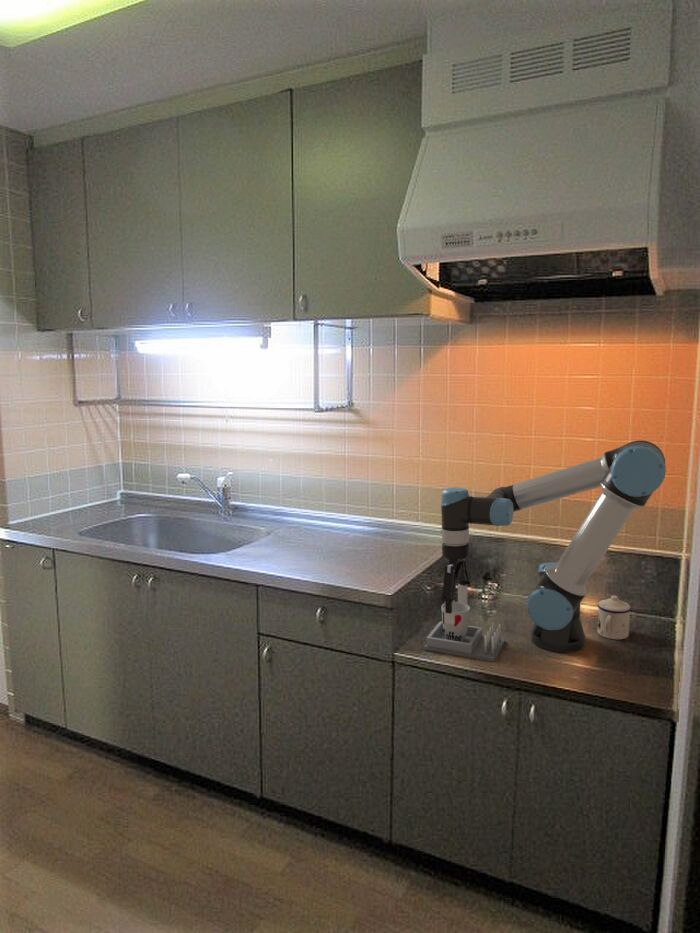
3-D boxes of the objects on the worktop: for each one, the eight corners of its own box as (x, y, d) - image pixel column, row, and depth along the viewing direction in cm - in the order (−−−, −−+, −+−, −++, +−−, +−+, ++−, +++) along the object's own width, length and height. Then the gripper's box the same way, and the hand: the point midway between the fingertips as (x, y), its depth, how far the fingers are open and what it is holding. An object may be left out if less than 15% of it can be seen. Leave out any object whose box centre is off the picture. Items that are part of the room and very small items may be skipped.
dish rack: (505, 641, 191) (505, 622, 190) (494, 661, 179) (494, 641, 178) (438, 631, 199) (438, 612, 198) (424, 649, 187) (424, 629, 186)
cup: (436, 640, 190) (436, 608, 189) (450, 631, 196) (450, 599, 195) (460, 648, 185) (460, 614, 183) (474, 638, 191) (475, 605, 190)
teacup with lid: (601, 625, 201) (602, 589, 199) (632, 632, 196) (634, 594, 194) (590, 639, 192) (591, 601, 190) (622, 646, 186) (624, 607, 184)
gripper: (454, 531, 198) (455, 598, 201) (428, 553, 176) (430, 628, 179) (479, 532, 195) (479, 601, 198) (456, 556, 173) (457, 632, 176)
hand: (456, 614), depth 189 cm, fingers open, 13 cm apart
